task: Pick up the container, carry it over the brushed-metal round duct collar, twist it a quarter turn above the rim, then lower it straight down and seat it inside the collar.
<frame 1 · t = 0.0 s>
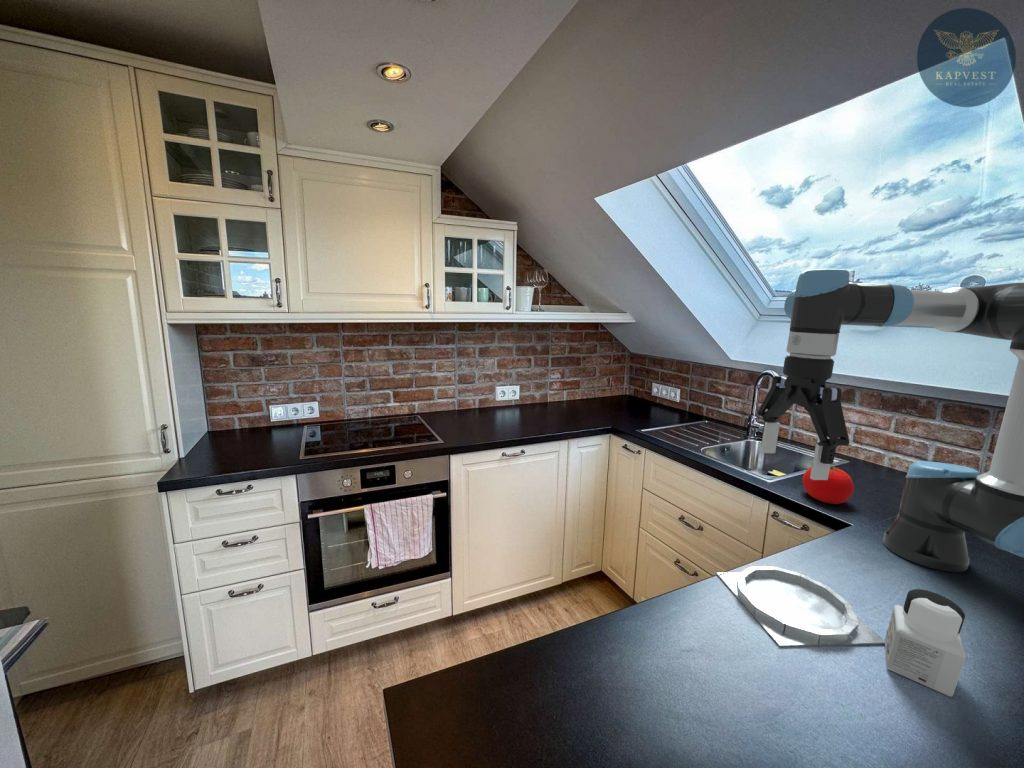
hand: (791, 464, 81), 28 cm above the worktop, fingers open, 13 cm apart
container: (915, 668, 69), on the worktop, touching duct collar
tomato: (824, 500, 132), on the worktop
duct collar: (792, 605, 83), on the worktop
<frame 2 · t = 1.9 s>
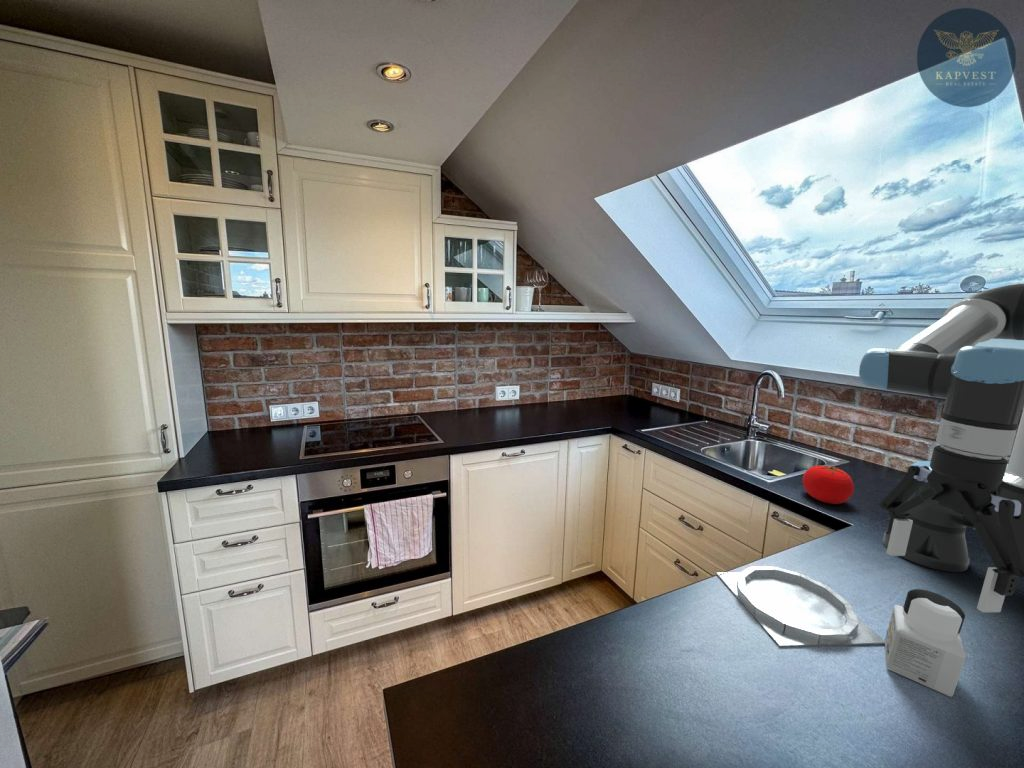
hand: (937, 579, 66), 16 cm above the worktop, fingers open, 13 cm apart
nothing on the worktop moved.
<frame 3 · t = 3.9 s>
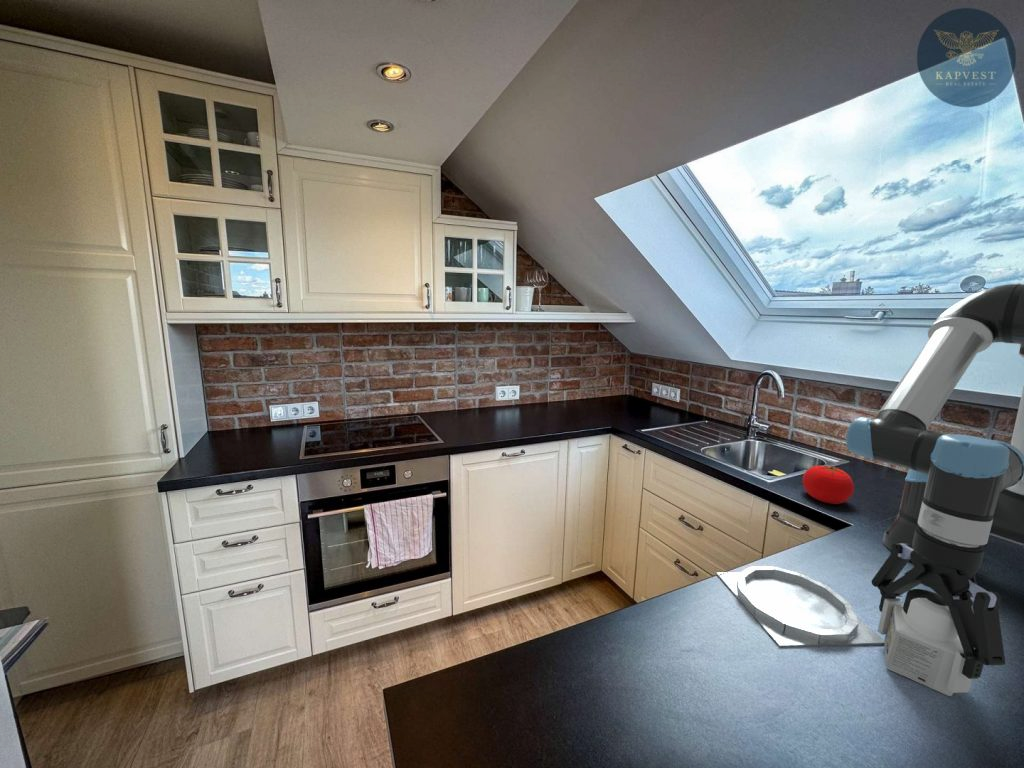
hand: (919, 659, 69), 2 cm above the worktop, fingers closed on container, 11 cm apart
container: (914, 668, 69), on the worktop, touching gripper
everything else where it was.
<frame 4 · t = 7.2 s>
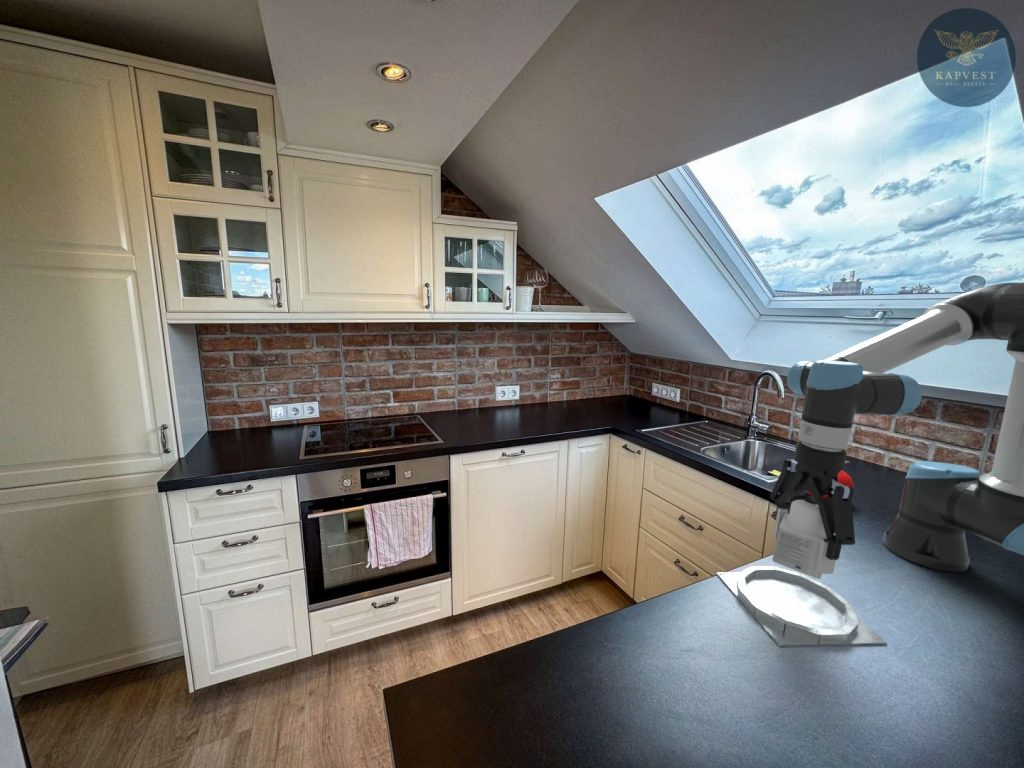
hand: (800, 554, 81), 11 cm above the worktop, fingers closed on container, 11 cm apart
container: (797, 562, 82), point 9 cm above the worktop, touching gripper
everything else where it was.
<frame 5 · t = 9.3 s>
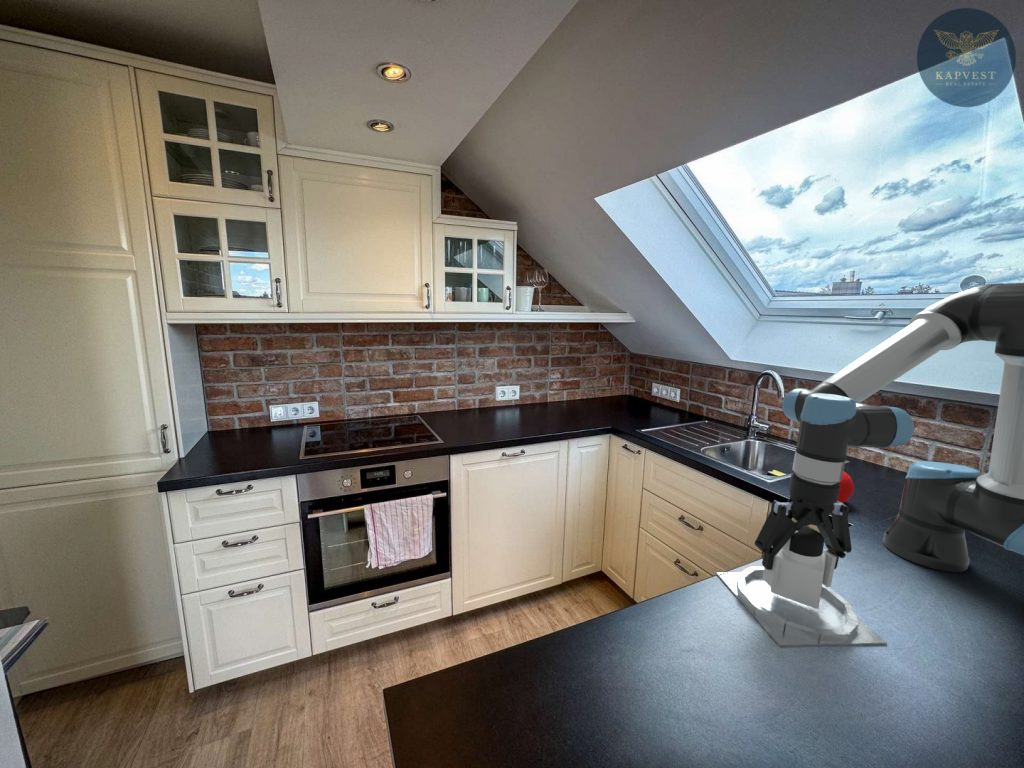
hand: (796, 582, 82), 5 cm above the worktop, fingers closed on container, 11 cm apart
container: (795, 591, 83), point 3 cm above the worktop, touching gripper
everything else where it was.
when the fingers open (3 cm above the worktop, at t = 10.7 s): container drops 1 cm, resting on duct collar.
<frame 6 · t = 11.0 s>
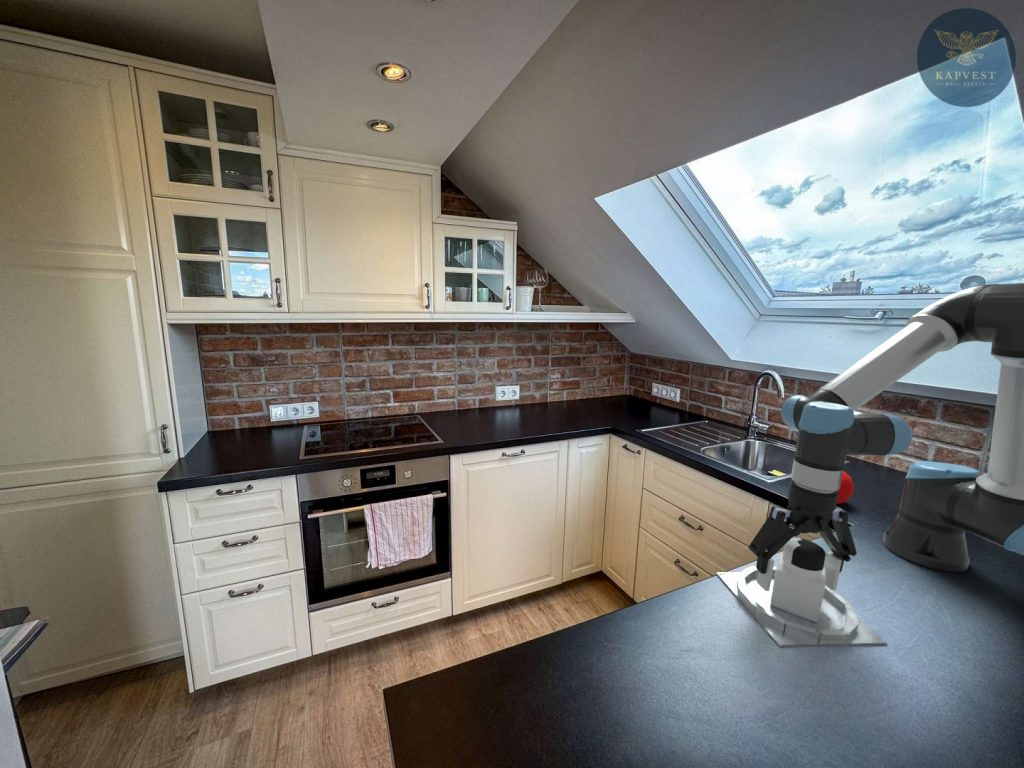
hand: (795, 586, 82), 4 cm above the worktop, fingers open, 13 cm apart
container: (794, 604, 83), resting on duct collar
everything else where it was.
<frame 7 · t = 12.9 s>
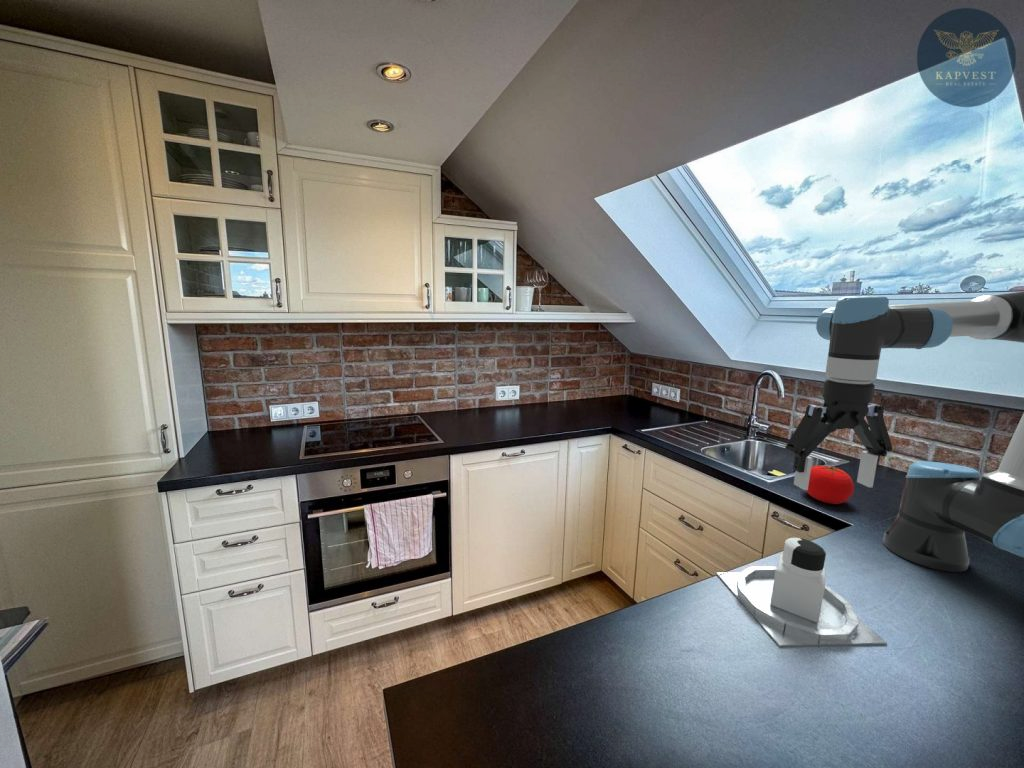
hand: (832, 486, 83), 24 cm above the worktop, fingers open, 13 cm apart
nothing on the worktop moved.
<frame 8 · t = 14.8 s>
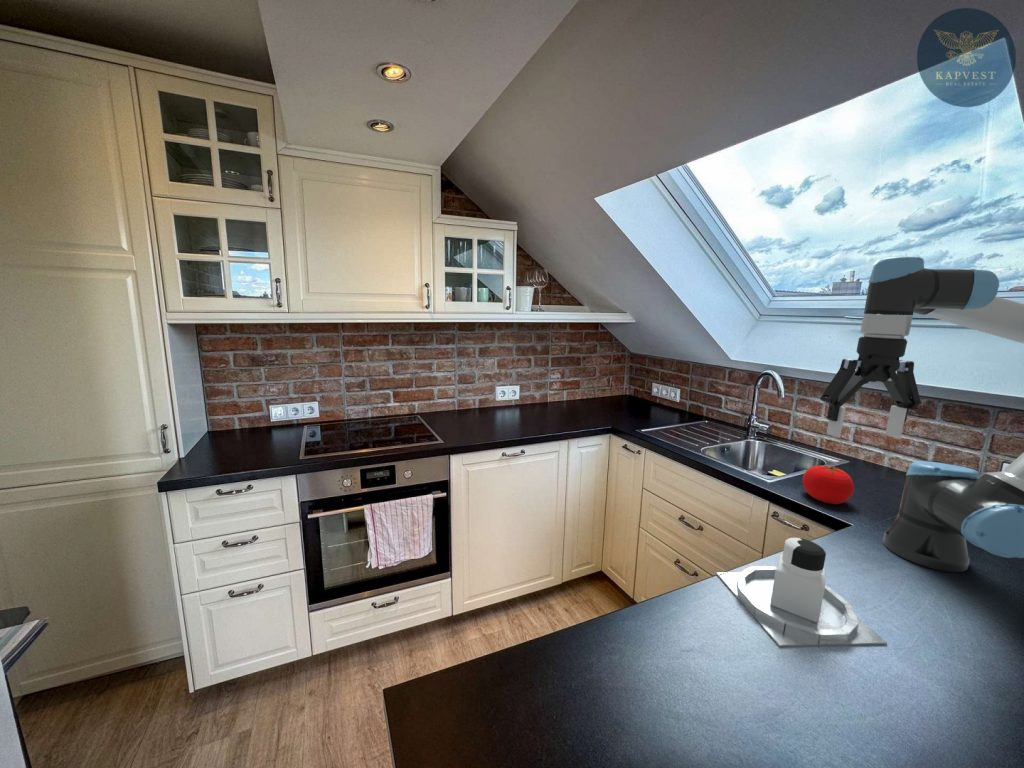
hand: (863, 436, 89), 32 cm above the worktop, fingers open, 13 cm apart
nothing on the worktop moved.
at the end: container inside the target area on the duct collar (0.4 cm from its centre), point 0.2 cm above the duct collar's base; container tilted 0°; the gripper is holding nothing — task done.
